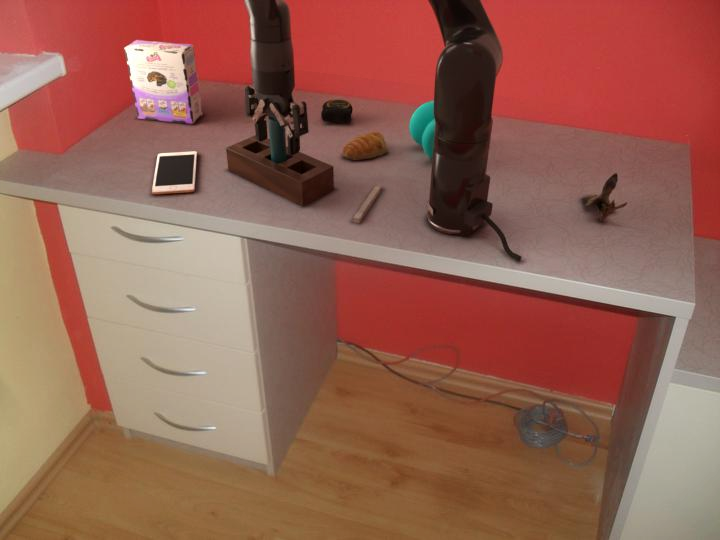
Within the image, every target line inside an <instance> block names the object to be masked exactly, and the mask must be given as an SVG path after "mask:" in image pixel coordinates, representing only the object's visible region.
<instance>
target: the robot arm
mask: <svg viewBox="0 0 720 540" xmlns="http://www.w3.org/2000/svg"><path fill="white" fill-rule="evenodd" d="M243 2H244V5H245V8H246V10H247V14H248V26H249V37H250V38H249V40H250V41H249V56H250V67H251V69H250V70H251V81H252V84H250V85H246V86H245V87H244V91H243V92H244V107H245V108H244V109H245V116H246V117H247V118H251V120H252V122H253V123H254V132H255V135H256V137H257V140H258V141H260V142H261V141H264V140H266V139H267V138H268V137H269V136H268V135H269V134H268V122H267V121H268V120H266V119H267V117H273V118H274V119H275V120H278V122H279V123H280V125H281V126H282V127H284V128H285V133H286V134H287V136H286V142H287V147H288V154H290V155H294V154H297V153H298V152H301V151H300V150H301V137H302V136H304V135H306V134H308V133H309V119H308V108H307V106H308V105H307V103H306V102H305V100H304V101H303V100H302V101H300V102H298V101H295V99H294V97H293V91H294V89H295V87H296V76H295V75H296V74H295V55H294V45H293V39H292V21H291V10H290V6H289V4H288V3H287V2H286V1H285V0H243ZM427 2H428V3H429V5H430V7H431V9H432V11H433V14H434V16H435V19H436V21H437V24H438V28H439V32H440V34H441V37H442V43H443V45H444V46H443V49H442V50H441V52H440V54H439V56H438V58H437V62H436V67H435V75H434V91H433V93H434V94H433V101H434V109H433V114H434V119H435V133H434V146H433V158H432V159H431V171H430V184H429V185H430V187H429V196H428V198H429V199H428V200H427V201H426V208H427V209H428V210H427V214H426V215H427V217H426V221H427V223H428V225H429V226H430V227H431V228H432V229H434V230H436V232H437V231H438V232H439V233H443V234H447V235H458V236H462V237H464V238H465V237H468V236H469V235H471V234H472V233H473V232H474V231H476V230H477V229H479V228H480V227H481V226H483V225H484V224H485V222H486V224H488V225H489V226H490V227H491V228H492V229H493V231H494V232H495V233H496V234H497V236H498V238H499V240H500V242H501V245H502V248H503V250H504V252H505V253H506V254H507V256H509V257H510V258H512V259H514V260H516V261H519V262H520V261H521V260H522V257H523V256H522V255H519V254H517V253H515V252H513V251H512V250H511V248H510V247H509V244H508V241H507V239H506V236H505V234H504V232H503V231H502V230H501V228H500V227H499V226H498V225H497V224H496V223H495V222H494V221H493V220H492V219H491V218H490V217H491V216H492V211H493V205H494V203H493V202H490V201H488V198H489V190H490V185H491V176H490V175H488V174H487V170H488V161H489V154H490V148H491V147H490V146H491V139H492V131H493V123H494V120H493V117H492V115H493V114H492V113H493V105H494V97H495V88H496V87H495V86H496V81H497V77H498V75H499V73H500V72H501V68H502V65H503V60H504V53H503V52H504V51H503V47H502V44H501V41H500V38H499V36H498V34H497V32H496V30H495V28H494V26H493V24H492V22H491V19H490V17H489V15H488V13H487V11H486V9H485V7H484V5H483V3H482V0H427ZM287 117H289V118H288V119H286V118H287ZM284 118H285V119H284ZM291 126H292V127H291Z"/></svg>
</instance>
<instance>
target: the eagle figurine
mask: <svg viewBox="0 0 720 540" xmlns="http://www.w3.org/2000/svg"><path fill="white" fill-rule="evenodd" d="M618 180H619V178H618V173H617V172H615V173H613V174H611V176H610V177H608V179H607V180H606V181H605V183H604V184H603V186H602V189H601V193H600V194H598V195H597V194H589V195H586V196H584V197H582V198H580V200H582V203H583V204H584V205H585V206H590V205H593V204H594V205H595V206H596V208H597V210H598V211H597V213H598V214H601V216H600V219H599V222H603V220H604V219H606V217H608V216H609V214H611V213H614V211H616V210H619V209H622V208H625V206H627V204H628V202H624V203H622V204H619V205H617V206H616V202H615V199H612V201H610V195H611V194H612V193H613V191H614V190H615V189H616V188H617V183H618Z"/></svg>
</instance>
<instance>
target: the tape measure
mask: <svg viewBox="0 0 720 540" xmlns="http://www.w3.org/2000/svg"><path fill="white" fill-rule="evenodd" d="M352 115H353V105H352V104H351V102H349V101H348V100H345V99H339V98H338V99H330V100H327V101H325V102H324V103H323V104H322V108H321V112H320V119H321V120H322V121H323V122H326V123H327V122H328V123H335V124H338V123H351V122H352Z"/></svg>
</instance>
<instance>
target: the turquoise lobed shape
mask: <svg viewBox="0 0 720 540" xmlns="http://www.w3.org/2000/svg"><path fill="white" fill-rule="evenodd" d="M433 109H434V100H430V101H426V102H424V103H422V104H421V105H420V106H418V107H417V108H416V109H415V110H414V112H413V113H412V115H411V117H410V120H409V126H408V127H409V128H408V129H409V134H410V136H411V138H412V140H413V141H414V142H415V143H417V144H418V145H420V146H422V149H423V152H424V153H425V154H426V156H427V157H428V158H430V159H431V160H432V158H433V146H434V133H435V119H434V114H433Z"/></svg>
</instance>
